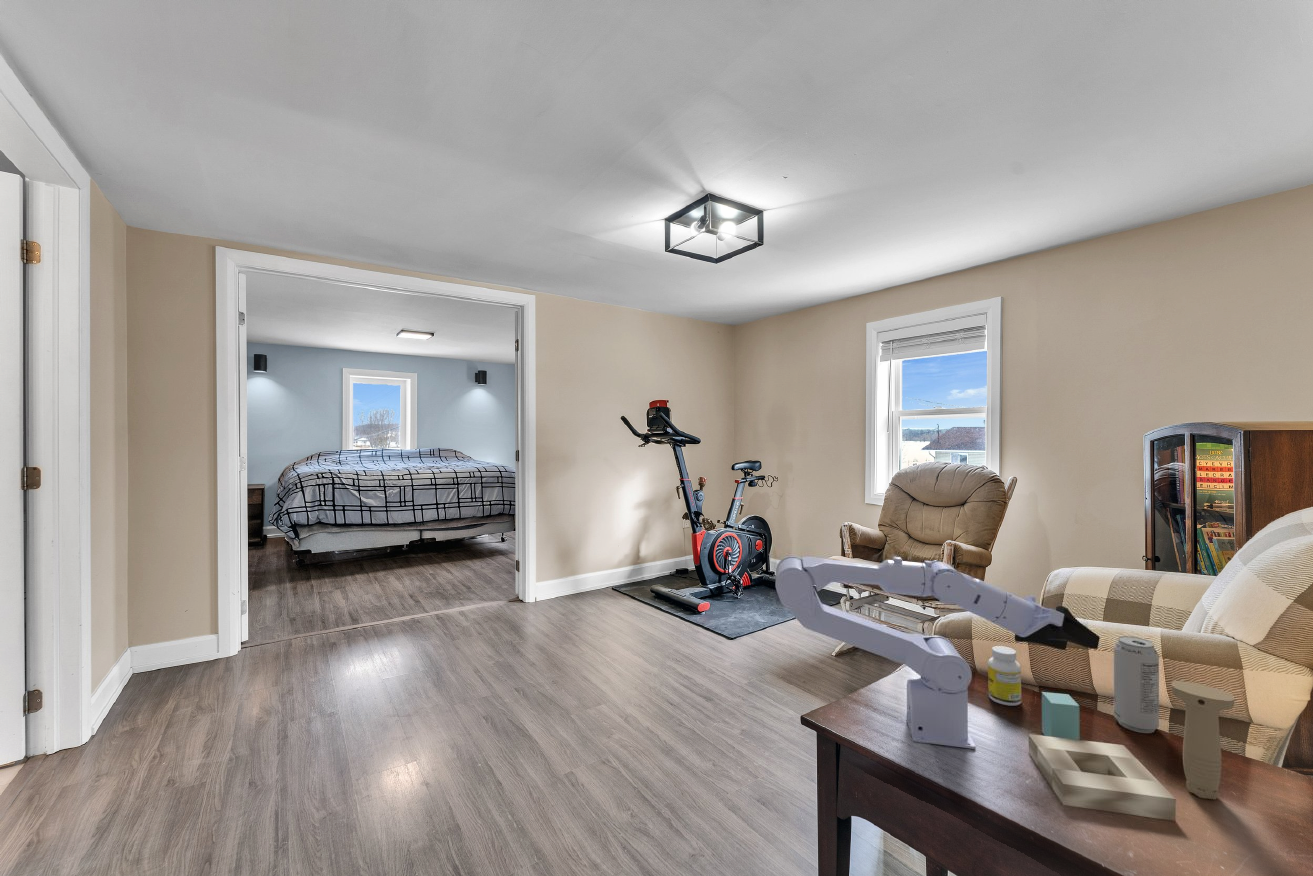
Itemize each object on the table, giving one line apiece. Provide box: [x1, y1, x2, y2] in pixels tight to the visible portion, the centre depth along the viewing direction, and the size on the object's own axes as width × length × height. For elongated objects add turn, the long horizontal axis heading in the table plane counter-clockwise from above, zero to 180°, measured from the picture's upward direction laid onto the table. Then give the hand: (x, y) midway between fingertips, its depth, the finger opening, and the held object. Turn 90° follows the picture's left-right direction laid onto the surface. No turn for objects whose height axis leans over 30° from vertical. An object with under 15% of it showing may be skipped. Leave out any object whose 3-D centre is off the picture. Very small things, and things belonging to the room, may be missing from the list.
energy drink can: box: [1113, 635, 1160, 734], centre depth 98 cm, size 6×6×15 cm
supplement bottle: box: [987, 645, 1022, 707], centre depth 108 cm, size 5×5×10 cm
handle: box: [1171, 680, 1235, 801], centre depth 80 cm, size 5×6×15 cm
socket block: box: [1028, 733, 1177, 822], centre depth 83 cm, size 13×13×3 cm
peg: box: [1041, 691, 1080, 740], centre depth 94 cm, size 4×4×7 cm
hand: (1080, 643), depth 91 cm, fingers open, 7 cm apart
